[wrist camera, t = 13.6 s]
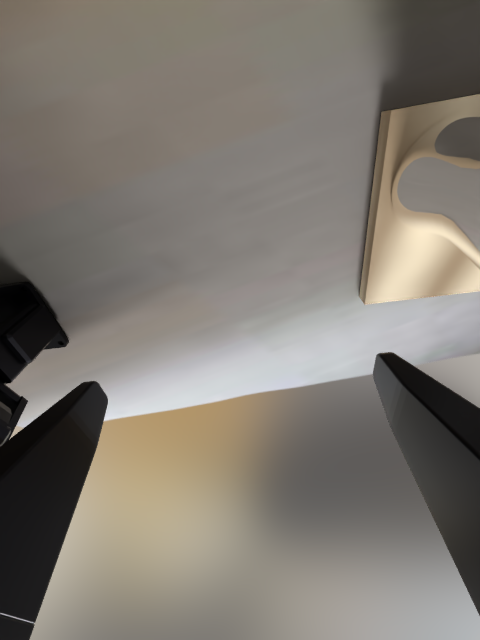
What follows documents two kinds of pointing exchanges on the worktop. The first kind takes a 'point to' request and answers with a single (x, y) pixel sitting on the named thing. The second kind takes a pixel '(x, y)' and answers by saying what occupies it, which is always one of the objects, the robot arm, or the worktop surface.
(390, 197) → the birch board
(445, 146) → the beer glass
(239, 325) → the worktop surface
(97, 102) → the worktop surface
